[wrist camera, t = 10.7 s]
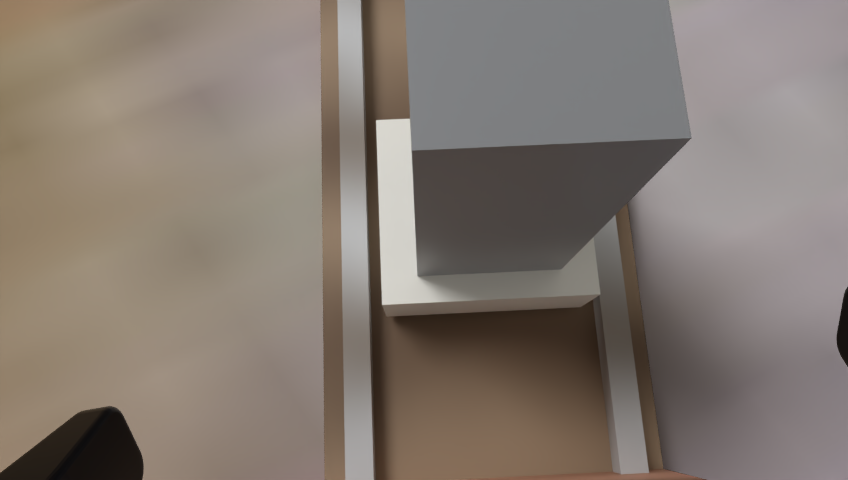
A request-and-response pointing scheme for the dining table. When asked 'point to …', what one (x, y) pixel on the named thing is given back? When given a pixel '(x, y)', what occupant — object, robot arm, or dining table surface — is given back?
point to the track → (461, 323)
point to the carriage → (520, 148)
